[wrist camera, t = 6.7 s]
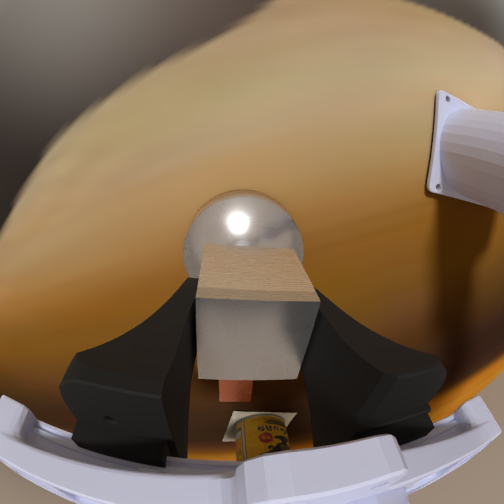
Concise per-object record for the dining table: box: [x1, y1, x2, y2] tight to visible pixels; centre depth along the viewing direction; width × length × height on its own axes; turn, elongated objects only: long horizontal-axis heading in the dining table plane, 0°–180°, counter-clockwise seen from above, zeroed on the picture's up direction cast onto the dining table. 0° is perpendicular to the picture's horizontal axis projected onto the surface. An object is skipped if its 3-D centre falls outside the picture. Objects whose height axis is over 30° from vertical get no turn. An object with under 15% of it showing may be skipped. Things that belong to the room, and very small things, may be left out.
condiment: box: [223, 411, 297, 461], centre depth 22 cm, size 7×8×12 cm
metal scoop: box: [183, 190, 303, 402], centre depth 18 cm, size 18×7×4 cm, turn 176°
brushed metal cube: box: [196, 244, 321, 380], centre depth 11 cm, size 4×4×4 cm
